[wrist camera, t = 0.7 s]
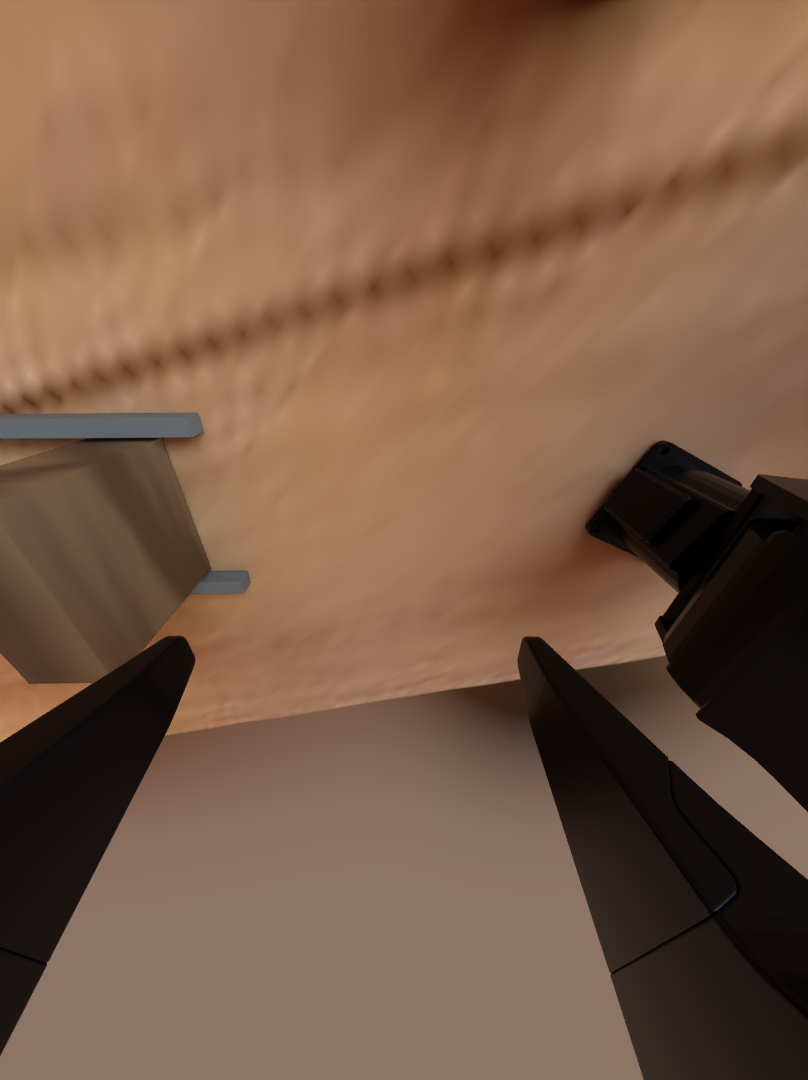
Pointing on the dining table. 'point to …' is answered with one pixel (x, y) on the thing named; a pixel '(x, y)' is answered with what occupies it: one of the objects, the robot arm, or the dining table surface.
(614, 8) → the dining table surface
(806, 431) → the dining table surface
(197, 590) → the backstop rail
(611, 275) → the dining table surface
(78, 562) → the walnut block
